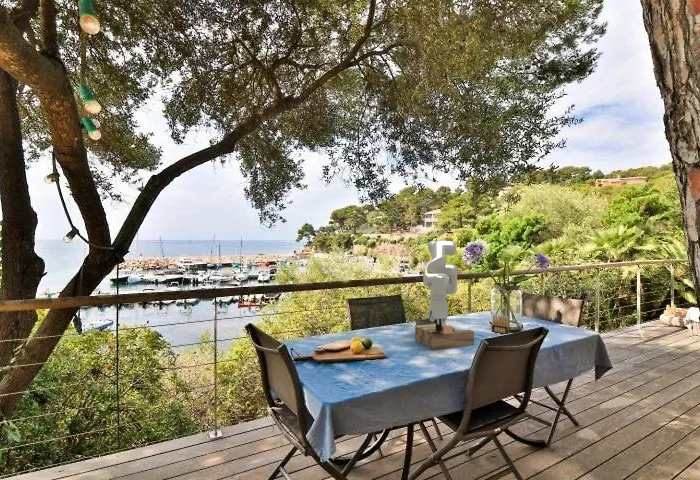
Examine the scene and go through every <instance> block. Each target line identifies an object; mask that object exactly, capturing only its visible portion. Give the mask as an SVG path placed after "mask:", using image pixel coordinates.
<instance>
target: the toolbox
mask: <svg viewBox="0 0 700 480" xmlns="http://www.w3.org/2000/svg"><path fill="white" fill-rule="evenodd" d="M414 328H415V329H414V340H415V342H417V343H419V344H422V345H423V346H426V347H427V349H428V350H431V351H437V350H445V349H452V348H458V347H464V346H472V345H471V344H474V345H475V331H474V330H472V329H463V330H453V333H451V334H441V333H440V332H433V333H430V332H428V331H425V330H422V329H420V328H417V327H415V326H414Z"/></svg>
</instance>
